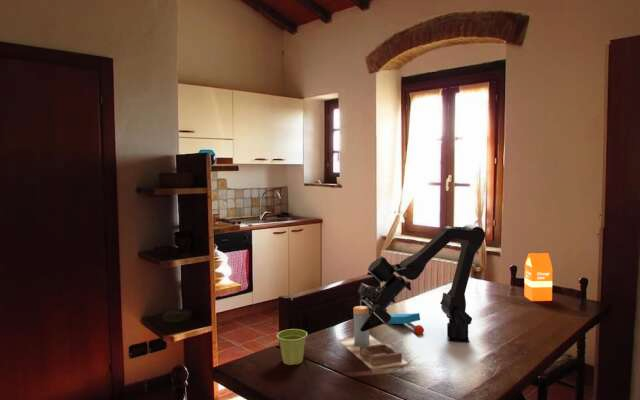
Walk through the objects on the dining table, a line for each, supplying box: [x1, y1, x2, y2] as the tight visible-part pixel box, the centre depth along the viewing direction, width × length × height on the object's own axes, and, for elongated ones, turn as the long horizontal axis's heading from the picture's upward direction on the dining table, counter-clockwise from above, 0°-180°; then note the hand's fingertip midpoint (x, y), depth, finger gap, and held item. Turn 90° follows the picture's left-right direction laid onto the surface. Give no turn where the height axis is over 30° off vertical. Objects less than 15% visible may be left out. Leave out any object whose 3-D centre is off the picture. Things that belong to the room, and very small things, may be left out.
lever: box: [388, 312, 425, 336], centre depth 177 cm, size 7×7×18 cm
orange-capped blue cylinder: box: [352, 305, 370, 347], centre depth 159 cm, size 5×5×12 cm
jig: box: [337, 334, 409, 374], centre depth 153 cm, size 26×12×4 cm, turn 20°
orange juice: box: [524, 252, 553, 302], centre depth 211 cm, size 8×9×20 cm
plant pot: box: [276, 328, 308, 366], centre depth 148 cm, size 9×9×9 cm
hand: (357, 326), depth 159 cm, fingers open, 9 cm apart
